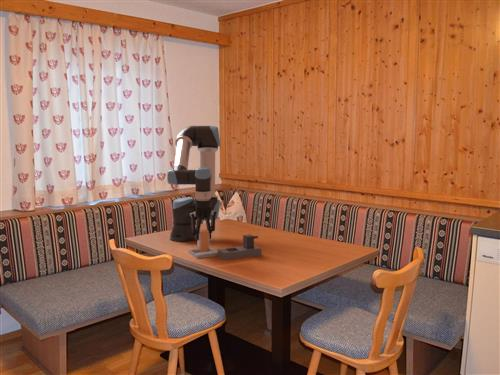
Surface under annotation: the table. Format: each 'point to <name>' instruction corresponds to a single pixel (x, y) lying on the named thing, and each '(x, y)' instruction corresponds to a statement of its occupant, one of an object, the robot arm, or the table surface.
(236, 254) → the strip
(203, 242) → the plug
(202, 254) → the tray
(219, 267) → the table surface
